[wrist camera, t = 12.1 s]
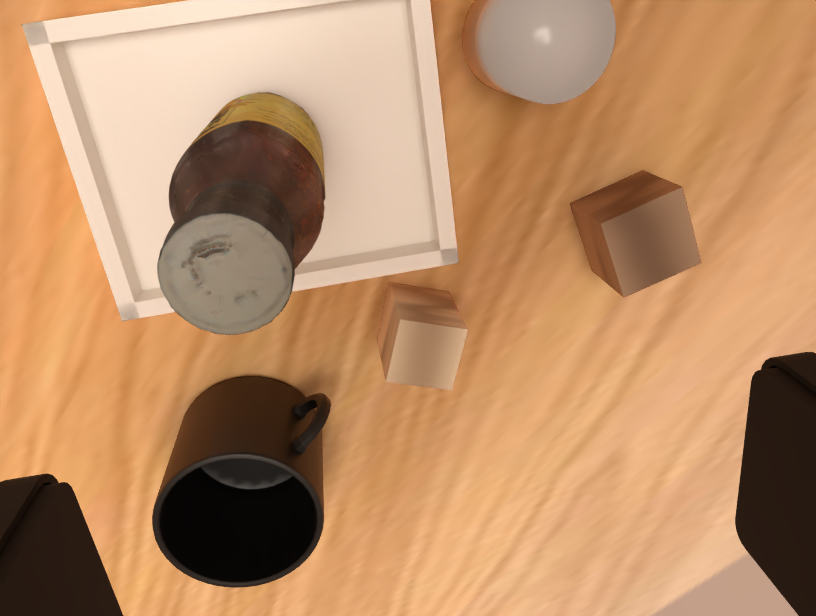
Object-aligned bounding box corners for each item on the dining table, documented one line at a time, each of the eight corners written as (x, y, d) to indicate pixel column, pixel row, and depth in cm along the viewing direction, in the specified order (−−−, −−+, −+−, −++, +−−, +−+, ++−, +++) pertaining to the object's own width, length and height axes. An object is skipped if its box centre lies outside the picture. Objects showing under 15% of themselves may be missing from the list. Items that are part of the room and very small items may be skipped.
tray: (419, -29, 36) (426, -34, 33) (450, 250, 42) (458, 263, 40) (41, 24, 34) (21, 24, 32) (132, 304, 41) (122, 321, 38)
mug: (376, 406, 46) (390, 489, 38) (258, 513, 48) (246, 613, 40) (274, 320, 42) (264, 390, 34) (151, 439, 44) (114, 532, 36)
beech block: (448, 291, 43) (468, 329, 38) (434, 346, 45) (451, 390, 39) (389, 282, 42) (400, 319, 37) (376, 338, 44) (385, 382, 38)
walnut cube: (642, 170, 42) (682, 186, 37) (661, 238, 44) (701, 262, 39) (569, 203, 42) (600, 223, 37) (591, 270, 44) (623, 297, 39)
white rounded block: (562, -29, 37) (615, -42, 30) (566, 83, 39) (616, 94, 33) (457, -14, 36) (487, -24, 30) (467, 99, 39) (497, 112, 32)
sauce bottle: (217, 78, 36) (120, 127, 18) (331, 103, 37) (350, 172, 19) (204, 195, 38) (106, 346, 20) (312, 215, 39) (312, 372, 21)
